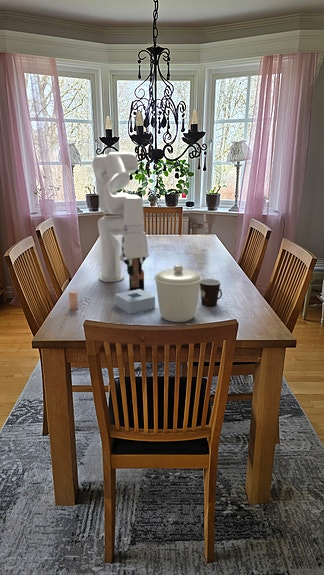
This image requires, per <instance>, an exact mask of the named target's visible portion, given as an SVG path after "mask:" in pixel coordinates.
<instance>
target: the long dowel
mask: <svg viewBox="0 0 324 575" xmlns="http://www.w3.org/2000/svg"><path fill="white" fill-rule="evenodd" d="M132 266H133V276H131V287H139V258H135V259H132Z"/></svg>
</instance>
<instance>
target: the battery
mask: <svg viewBox="0 0 324 575" xmlns="http://www.w3.org/2000/svg"><path fill="white" fill-rule="evenodd" d="M128 276H129V277H128V280H129V281H128V283H129V286H128V288H129V289H128V290H129V291H132V290H137V289H141V290H143V291H145V270H144V269H142V274H139V287H131V275H128Z"/></svg>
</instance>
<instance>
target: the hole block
mask: <svg viewBox="0 0 324 575" xmlns="http://www.w3.org/2000/svg"><path fill="white" fill-rule="evenodd" d="M114 298H115V300H114V301H115V302H114V303H115V306H116V307H118V308H119V309H120V310H122V311H124V312H125V311H126V312H125V313H127V314H128V313H129V315H132V314H131V313H133V314H137V313H141V312H145V311H149V310H148V309H150V310H153V309H152V308H154V309H156V296H154V295H152V294H150V293H148V292H147V291H145V290H141V289H137V290H132V291H130V290H128V291H124V292H119V293H118V292H117V293H115V294H114ZM144 310H145V311H144ZM140 311H141V312H140ZM136 312H137V313H136Z"/></svg>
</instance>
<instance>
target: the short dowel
mask: <svg viewBox="0 0 324 575" xmlns="http://www.w3.org/2000/svg"><path fill="white" fill-rule="evenodd" d="M68 299H69V300H68V301H69V310H70V311H76V310H78V309H79V307H78V306H79V304H78V292H77V291H76V290H72V291H68Z"/></svg>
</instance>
